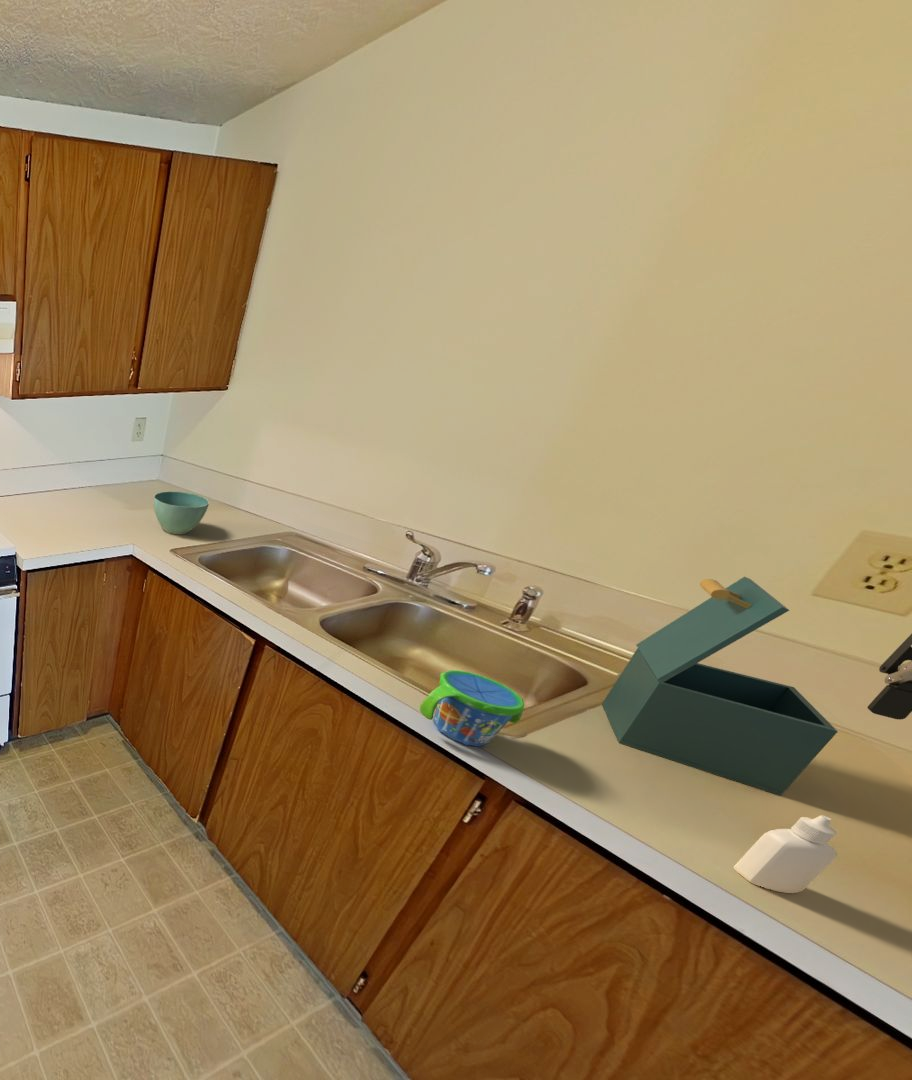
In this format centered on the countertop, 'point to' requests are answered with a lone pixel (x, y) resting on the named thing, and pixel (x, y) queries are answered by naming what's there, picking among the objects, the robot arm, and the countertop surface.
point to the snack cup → (471, 707)
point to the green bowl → (179, 511)
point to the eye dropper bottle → (789, 856)
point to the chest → (718, 722)
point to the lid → (709, 626)
